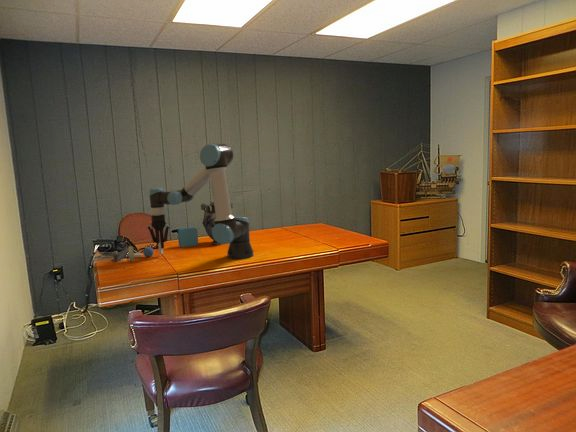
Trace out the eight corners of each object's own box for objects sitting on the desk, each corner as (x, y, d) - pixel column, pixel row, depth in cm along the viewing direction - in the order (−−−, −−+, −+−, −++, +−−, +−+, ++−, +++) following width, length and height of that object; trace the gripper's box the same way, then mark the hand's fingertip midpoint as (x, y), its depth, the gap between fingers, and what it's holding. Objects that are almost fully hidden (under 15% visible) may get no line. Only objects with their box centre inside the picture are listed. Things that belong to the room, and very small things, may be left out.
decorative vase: (233, 238, 300) (230, 199, 295) (237, 244, 282) (234, 202, 278) (202, 241, 294) (199, 201, 290) (204, 247, 276) (201, 204, 272)
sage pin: (134, 260, 246) (133, 246, 244) (133, 261, 243) (131, 247, 242) (130, 260, 246) (129, 246, 245) (129, 261, 243) (127, 247, 242)
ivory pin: (141, 253, 255) (128, 253, 256) (139, 253, 252) (126, 253, 254) (142, 257, 255) (129, 257, 256) (139, 257, 252) (126, 257, 254)
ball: (144, 247, 256) (146, 257, 256) (140, 248, 250) (142, 258, 250) (154, 245, 256) (156, 255, 256) (150, 246, 250) (152, 256, 250)
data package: (196, 244, 287) (195, 226, 285) (198, 245, 283) (197, 227, 281) (178, 246, 281) (177, 228, 279) (180, 247, 277) (179, 229, 275)
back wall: (132, 253, 264) (131, 247, 263) (117, 261, 244) (117, 255, 243) (128, 253, 264) (128, 247, 263) (114, 261, 244) (113, 255, 243)
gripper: (170, 213, 252) (173, 252, 256) (149, 213, 253) (152, 252, 256) (166, 214, 245) (169, 254, 248) (144, 215, 246) (147, 255, 249)
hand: (161, 253), depth 252 cm, fingers closed
